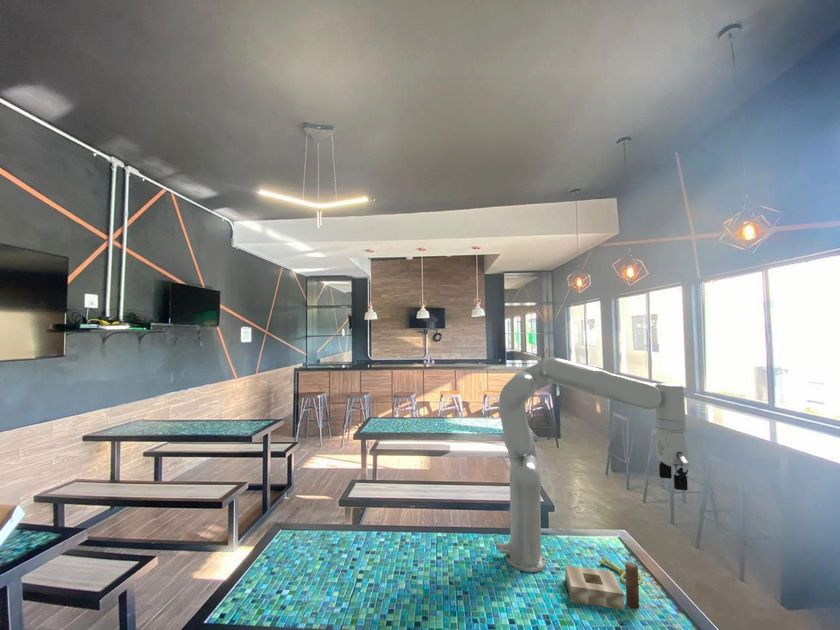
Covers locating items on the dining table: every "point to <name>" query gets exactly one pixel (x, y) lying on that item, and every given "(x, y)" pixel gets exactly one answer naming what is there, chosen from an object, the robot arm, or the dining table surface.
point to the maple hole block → (594, 587)
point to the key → (619, 571)
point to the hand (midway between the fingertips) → (672, 483)
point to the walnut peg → (632, 585)
